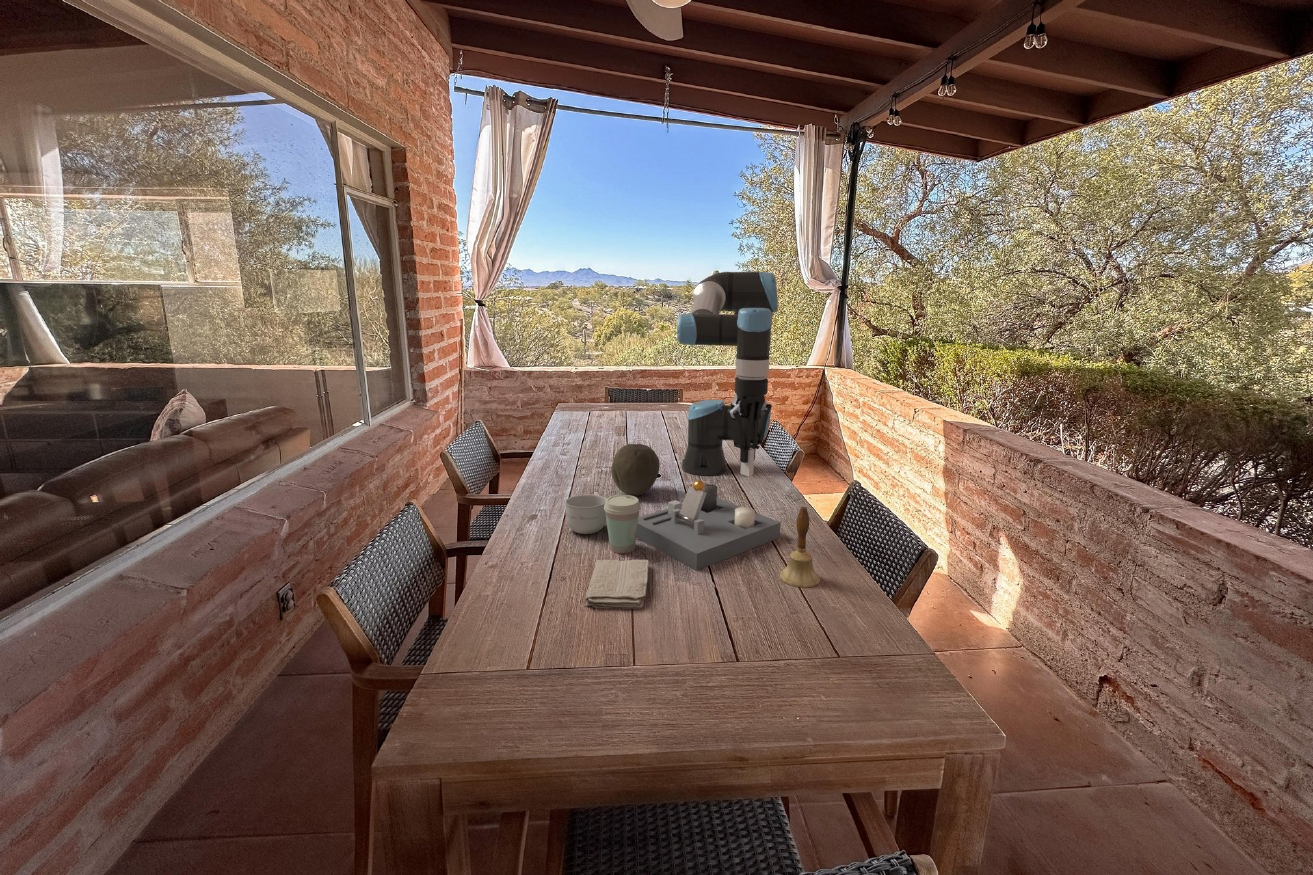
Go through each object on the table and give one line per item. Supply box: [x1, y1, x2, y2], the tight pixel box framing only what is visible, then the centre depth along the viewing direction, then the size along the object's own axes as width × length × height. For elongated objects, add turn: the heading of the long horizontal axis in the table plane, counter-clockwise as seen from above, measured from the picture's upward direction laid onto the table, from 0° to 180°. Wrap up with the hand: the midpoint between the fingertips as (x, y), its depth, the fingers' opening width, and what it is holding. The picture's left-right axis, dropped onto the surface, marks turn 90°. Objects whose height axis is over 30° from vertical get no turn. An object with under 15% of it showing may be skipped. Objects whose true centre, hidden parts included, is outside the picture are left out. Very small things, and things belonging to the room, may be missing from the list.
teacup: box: [564, 494, 608, 535], centre depth 145 cm, size 14×11×8 cm
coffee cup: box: [604, 494, 642, 554], centre depth 135 cm, size 8×8×12 cm
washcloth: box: [584, 559, 649, 610], centre depth 119 cm, size 12×18×3 cm, turn 179°
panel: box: [636, 497, 782, 571], centre depth 142 cm, size 28×24×7 cm
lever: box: [677, 480, 706, 525], centre depth 138 cm, size 3×6×10 cm, turn 40°
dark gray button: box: [701, 483, 718, 511], centre depth 151 cm, size 5×5×6 cm
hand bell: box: [779, 506, 821, 589], centre depth 121 cm, size 8×8×16 cm
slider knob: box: [667, 500, 683, 515], centre depth 146 cm, size 2×2×3 cm
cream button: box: [734, 506, 756, 529], centre depth 142 cm, size 5×5×6 cm
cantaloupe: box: [611, 443, 661, 497], centre depth 171 cm, size 14×14×15 cm
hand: (746, 474), depth 139 cm, fingers closed
